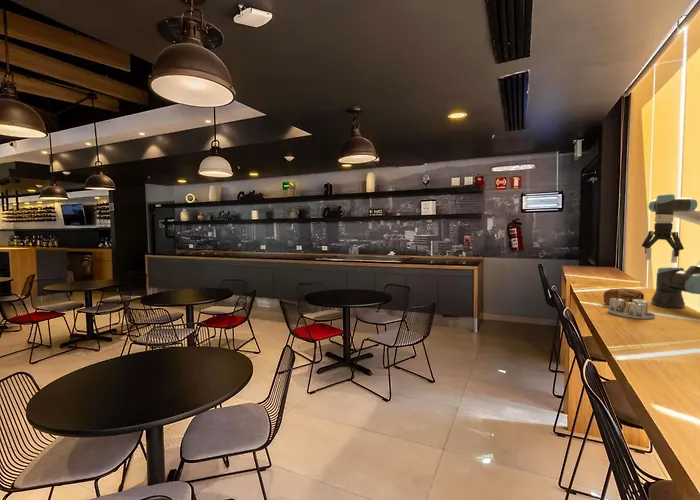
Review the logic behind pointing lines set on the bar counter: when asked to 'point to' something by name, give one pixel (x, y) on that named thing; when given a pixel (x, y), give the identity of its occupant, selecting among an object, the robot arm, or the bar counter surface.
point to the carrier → (628, 309)
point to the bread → (622, 295)
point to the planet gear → (642, 303)
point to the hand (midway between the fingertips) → (660, 261)
